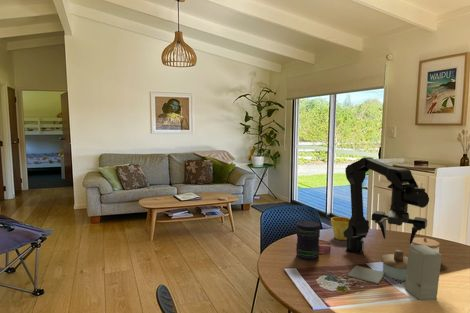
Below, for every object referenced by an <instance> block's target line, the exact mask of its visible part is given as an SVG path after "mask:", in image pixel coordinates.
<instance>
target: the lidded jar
mask: <svg viewBox="0 0 470 313" xmlns="http://www.w3.org/2000/svg"><path fill="white" fill-rule="evenodd" d="M410 245H426V246H428V247H430V248H431V249H434V250H435V251H436V252H438V253H440V242H439V241H437V240H434V239H432V238H429V237H428V238H427V237H414V239H413V241H412V243H411V244H410Z"/></svg>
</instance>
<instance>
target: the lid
mask: <svg viewBox="0 0 470 313" xmlns="http://www.w3.org/2000/svg"><path fill="white" fill-rule="evenodd" d="M380 260H381V262H382V264H383V263H384V264H386V265H388V266H390V267H394V268H398V269H407V262H408V256H406V255H404V251H403V250H401V249H394V250H393V253H388V254H383V255H382V256H381V259H380Z"/></svg>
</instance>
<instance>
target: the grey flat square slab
mask: <svg viewBox="0 0 470 313" xmlns="http://www.w3.org/2000/svg"><path fill="white" fill-rule="evenodd" d="M384 276H386V274H385V273H384V272H383V271H382V270H381V271H380V270H376V269H373V268H369V267H364V266H360V265H355V266H354V267H353V268H352V270H351V271H350V272H349V273H348V274H347V277H350V278H354V279H357V280H360V281H361V280H362V281H366V282H368V283H372V284H377V285H379V284H380V282H381V281H382V279H383V278H384Z"/></svg>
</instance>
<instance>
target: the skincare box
mask: <svg viewBox="0 0 470 313" xmlns="http://www.w3.org/2000/svg"><path fill="white" fill-rule="evenodd" d="M407 255H408V256H407V257H408V262H407V270H406V279H405V280H404V289H405V290H406V291H408V292H409V293H410V294H412V296H414V297H415V298H417V299H418V300H420V301H421V300H422V301H423V300H424V301H426V300H428V301H429V300H437V299H438V297H437V296H438V289H439V281H440V273H441V266H442V257H443V254H441V253H440V252H439V253H438V252H436V251H435V250H434V249H431V248H430V247H428V246H426V245H411V244H409V246H408V254H407Z"/></svg>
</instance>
